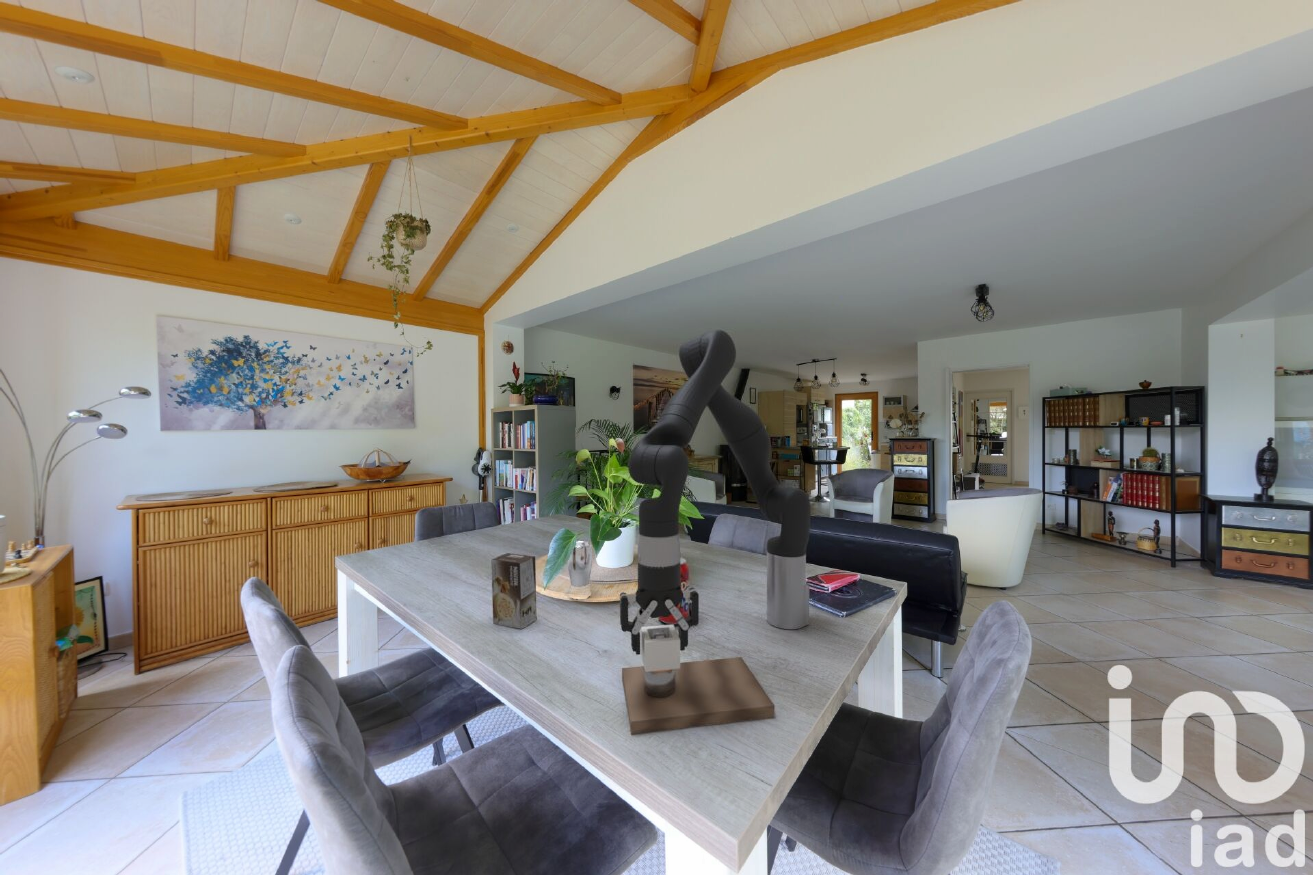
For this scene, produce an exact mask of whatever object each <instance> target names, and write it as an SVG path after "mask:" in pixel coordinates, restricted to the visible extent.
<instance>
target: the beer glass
mask: <svg viewBox="0 0 1313 875" xmlns="http://www.w3.org/2000/svg"><path fill="white" fill-rule="evenodd" d="M592 548H593V547H592V542H590V541H587V540H576V546H575V547H574V549H573V552H572V555H571V556H570V558H569V560H568V561H567V569H568V575H569V580H570V581H569V582H570V586H571V585H572V586H574V587H582V586H586V585H588V584H590V583H589V582H591V581H590V580H591V574H592V567H593V566H592V565H593V550H592Z"/></svg>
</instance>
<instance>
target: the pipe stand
mask: <svg viewBox="0 0 1313 875" xmlns="http://www.w3.org/2000/svg"><path fill="white" fill-rule="evenodd" d="M661 638H666V632H665V631H663V630H656V631H654V632H653V639H661ZM621 679H622V680H621V681H622V687H623V692H624V698H625V700H624V701H625V705H626V706H625V707H626V711H627V712H626V713H627V716H628V717H627V718H628V722H629V730H630V734H631V735H633V734H634V735H635V734H642V733H643V734H644V733H652V732H659V731H669V730H677V729H686V728H693V727H701V726H712V725H719V724H728V723H729V724H730V723H736V722H737V723H738V722H747V721H755V720H762V719H764V720H765V719H770V718H772V719H773V718H776V717H775V715H776V714H775V708H776V707H775V704H774V702H773V701H772V699H771V697H769V695H768V693H767V692H766V691H765V689H764V688H763V686H762V685H761V683H760V682H759V680H758V679H757V678H756V676H755V674H753V672H752V670H751V669H750V667H749V666H748V665H747V663H746V662H745V660H744V659H743V657H742V656H737V657H728V658H717V659H716V658H715V659H705V660H697V661H695V660H694V661H686V662H684V661H683V662H680V669H669V670H659V671H648V672H645V668H644V665H643V666H642V665H640V666H630V667H622V668H621Z"/></svg>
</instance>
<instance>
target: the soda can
mask: <svg viewBox="0 0 1313 875" xmlns="http://www.w3.org/2000/svg"><path fill="white" fill-rule="evenodd" d="M680 579H681V590H682V591H683V590H689V589H690V566H689V564H688V563H687V559H685V558H683V557H681V559H680ZM677 608H678V609H679V611H680V612H681V614H682V615H683V617H684V618H686V617H688V616H689V603H687V601H686V599H685V598H684V597H683V599H682V600H681V602H680V603H679V605H678V606H677ZM657 618H658V620H660V621H661V622H663V623H665V624H666V625H674V626H675V625H679V623H678V622H677V621H676V619H675V618H674V616H673V615H672V614H671V615H669V617H661V616H660V617H657Z"/></svg>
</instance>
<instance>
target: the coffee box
mask: <svg viewBox="0 0 1313 875" xmlns="http://www.w3.org/2000/svg"><path fill="white" fill-rule="evenodd" d="M490 561H491V563H490V564H491V590H492V591H491V594H492V595H491V598H492V599H491V600H492V624H494V625H499V626H505V627H509V628H514V629H520V630H523V629H524V628H526V627H527V626H529V625H531V624H533V623H534V622H535V621H536V620H538V618H537V616H538V615H537V612H538V611H537V576H536V575H537V573H536V556H535V555H527V554H519V553H518V554H517V553H511V552H510V553H509V552H508V553H504V554H501V555H499V556H496V557H495V558H493V559H491V560H490Z"/></svg>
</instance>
